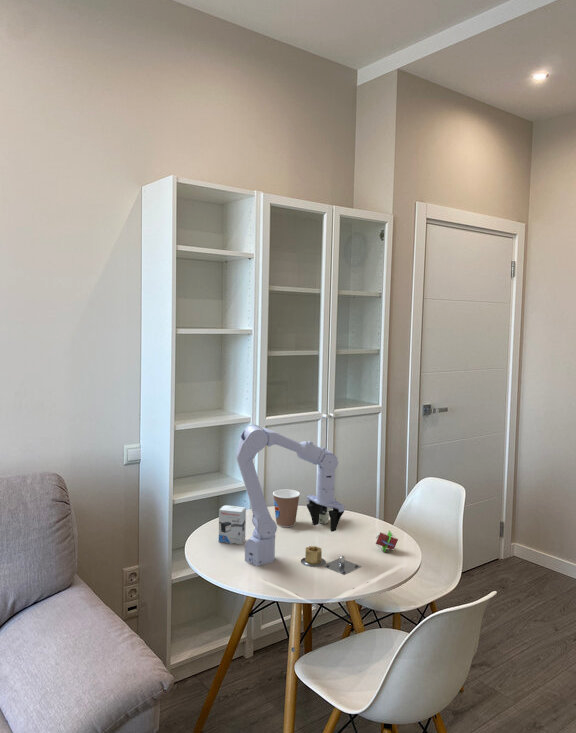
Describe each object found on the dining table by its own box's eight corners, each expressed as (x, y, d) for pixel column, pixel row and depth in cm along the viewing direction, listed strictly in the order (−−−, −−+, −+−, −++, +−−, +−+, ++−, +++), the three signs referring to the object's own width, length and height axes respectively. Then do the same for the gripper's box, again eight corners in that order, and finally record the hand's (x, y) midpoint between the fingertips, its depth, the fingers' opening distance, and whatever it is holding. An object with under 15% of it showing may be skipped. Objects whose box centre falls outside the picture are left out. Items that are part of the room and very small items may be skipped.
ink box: (217, 542, 209) (218, 509, 208) (222, 537, 214) (223, 504, 213) (241, 545, 207) (241, 511, 206) (245, 539, 212) (246, 507, 211)
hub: (344, 578, 183) (344, 565, 183) (321, 568, 189) (322, 556, 189) (362, 569, 190) (362, 557, 189) (339, 560, 196) (340, 548, 195)
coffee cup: (271, 519, 233) (272, 489, 232) (298, 519, 234) (299, 489, 233) (272, 529, 223) (273, 497, 222) (300, 529, 224) (301, 497, 223)
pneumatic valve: (311, 526, 227) (312, 495, 226) (323, 517, 237) (324, 487, 236) (325, 528, 224) (326, 497, 223) (336, 519, 235) (337, 489, 234)
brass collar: (313, 566, 189) (314, 553, 188) (302, 561, 192) (302, 549, 192) (324, 561, 192) (324, 549, 192) (312, 557, 196) (312, 545, 195)
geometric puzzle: (399, 540, 209) (386, 522, 208) (404, 548, 202) (391, 529, 201) (382, 552, 209) (369, 534, 208) (387, 560, 202) (373, 542, 201)
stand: (314, 572, 187) (314, 559, 186) (295, 564, 192) (295, 552, 192) (330, 564, 193) (331, 552, 192) (312, 557, 198) (312, 545, 198)
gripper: (351, 489, 195) (349, 530, 196) (316, 480, 204) (315, 519, 206) (337, 494, 189) (336, 536, 191) (303, 484, 199) (301, 524, 200)
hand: (324, 527), depth 198 cm, fingers open, 7 cm apart
